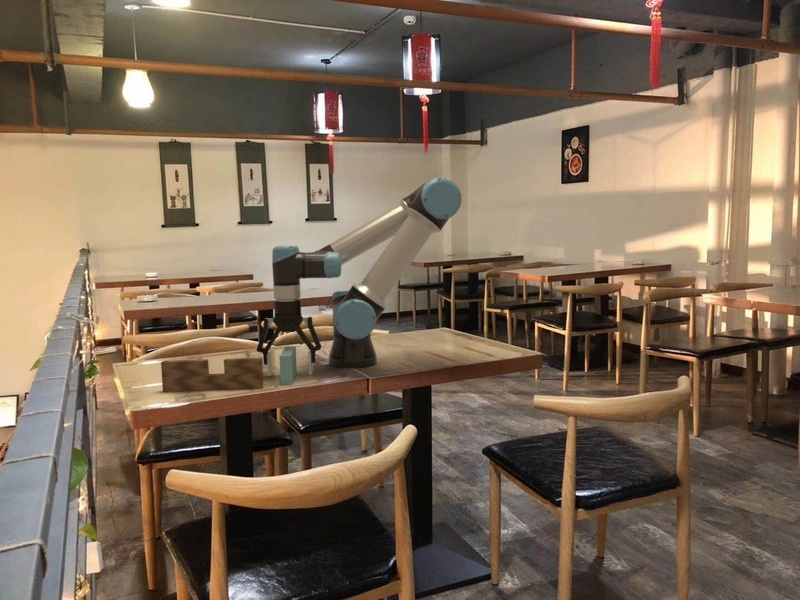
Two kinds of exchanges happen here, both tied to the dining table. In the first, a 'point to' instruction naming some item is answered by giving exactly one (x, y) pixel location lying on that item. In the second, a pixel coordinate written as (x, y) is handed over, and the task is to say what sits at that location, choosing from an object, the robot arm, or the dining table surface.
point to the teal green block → (288, 365)
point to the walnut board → (211, 375)
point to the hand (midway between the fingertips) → (290, 374)
